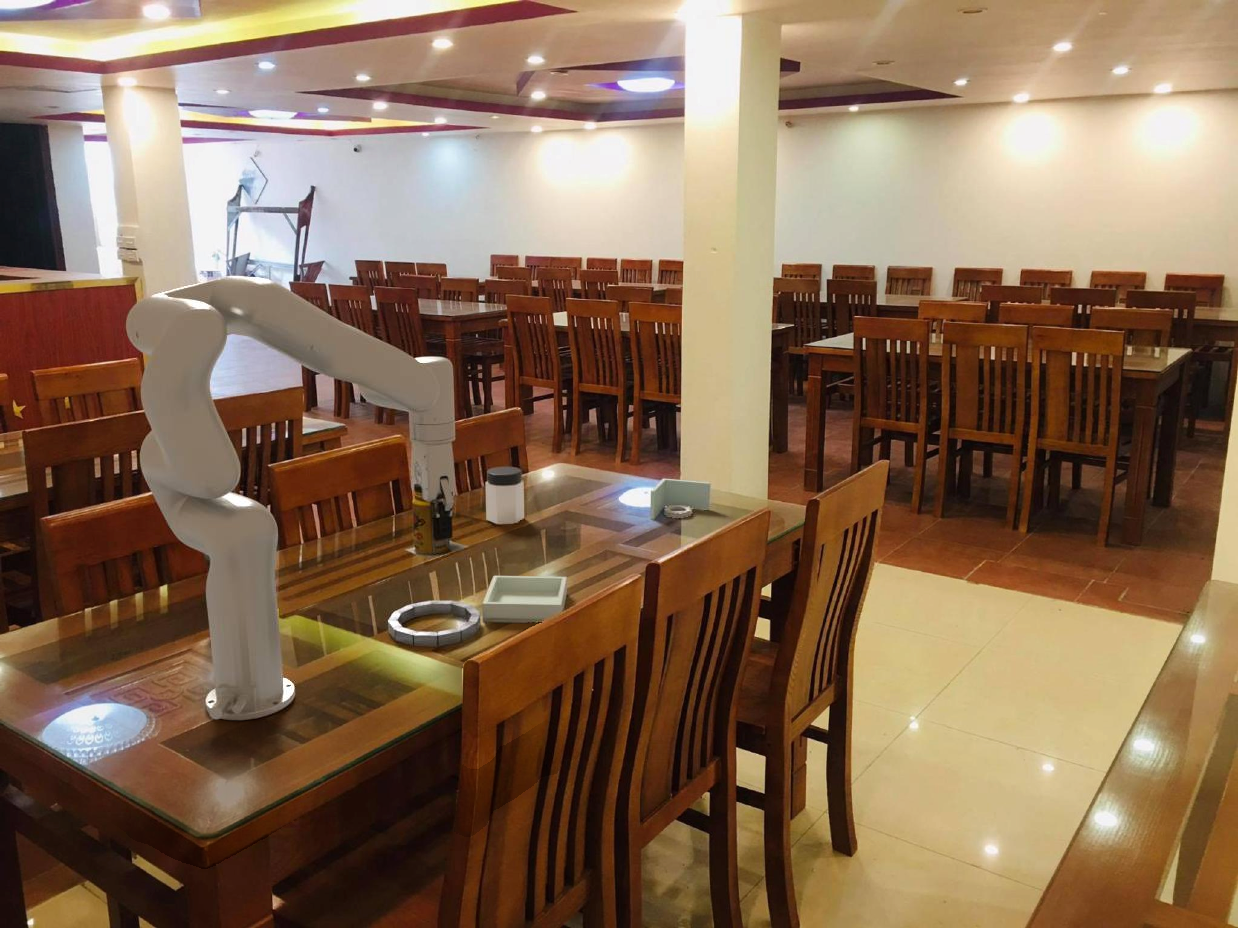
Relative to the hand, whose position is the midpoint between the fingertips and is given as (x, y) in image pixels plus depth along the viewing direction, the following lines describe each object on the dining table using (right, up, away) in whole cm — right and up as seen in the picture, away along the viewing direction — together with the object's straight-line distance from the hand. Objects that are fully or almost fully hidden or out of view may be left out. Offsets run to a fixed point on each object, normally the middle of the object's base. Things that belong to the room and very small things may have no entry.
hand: (436, 532), depth 173 cm
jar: (+4, -2, +66) cm, 66 cm away
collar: (-1, -17, +4) cm, 18 cm away
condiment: (0, -3, +1) cm, 3 cm away
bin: (+14, -15, +13) cm, 24 cm away
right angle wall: (+46, -1, +71) cm, 85 cm away
